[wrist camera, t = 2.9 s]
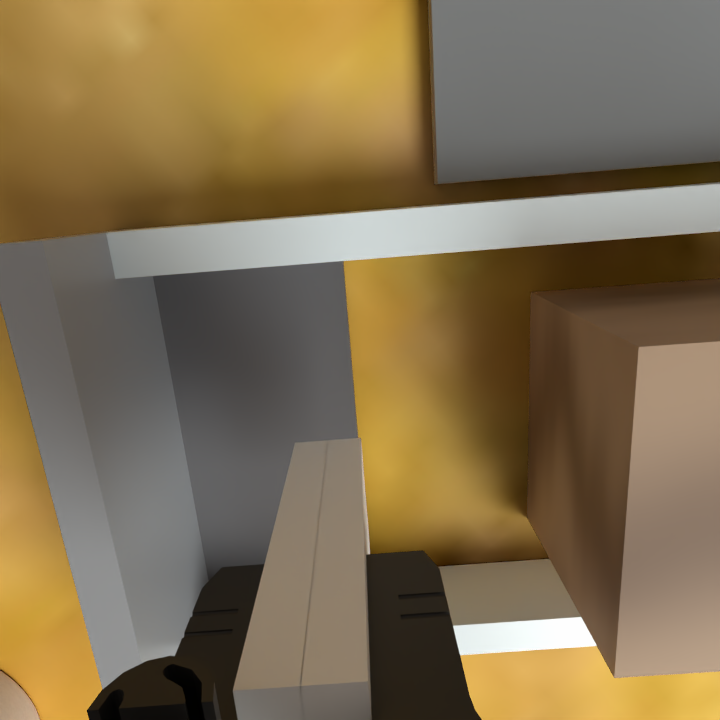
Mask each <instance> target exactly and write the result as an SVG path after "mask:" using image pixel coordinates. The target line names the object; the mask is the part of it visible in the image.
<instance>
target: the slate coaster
mask: <svg viewBox="0 0 720 720" xmlns="http://www.w3.org/2000/svg"><path fill="white" fill-rule="evenodd" d="M428 24H429V52H430V79H431V106H432V133H433V161H434V185H435V184H448V183H460V182H472V181H485V180H497V179H510V178H522V177H535V176H547V175H560V174H572V173H584V172H597V171H609V170H622V169H634V168H647V167H659V166H671V165H684V164H696V163H709V162H720V0H428Z"/></svg>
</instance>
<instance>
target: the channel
mask: <svg viewBox="0 0 720 720" xmlns="http://www.w3.org/2000/svg"><path fill="white" fill-rule="evenodd" d="M718 231H720V182H714V183H701V184H689V185H676V186H664V187H651V188H639V189H626V190H614V191H601V192H589V193H576V194H564V195H551V196H539V197H526V198H513V199H501V200H488V201H476V202H463V203H451V204H438V205H426V206H413V207H401V208H388V209H376V210H363V211H351V212H338V213H326V214H313V215H301V216H288V217H276V218H263V219H250V220H238V221H225V222H213V223H200V224H188V225H175V226H163V227H150V228H138V229H125V230H113V231H103V232H95V233H86V234H78V235H69V236H60V237H52V238H43V239H34V240H26V241H17V242H9V243H0V304H1V308H2V311H3V315H4V319H5V323H6V326H7V330H8V334H9V338H10V342H11V345H12V349H13V353H14V357H15V360H16V364H17V368H18V372H19V375H20V379H21V383H22V387H23V391H24V394H25V398H26V402H27V406H28V409H29V413H30V417H31V421H32V424H33V428H34V432H35V436H36V440H37V443H38V447H39V451H40V455H41V458H42V462H43V466H44V470H45V473H46V477H47V481H48V485H49V489H50V492H51V496H52V500H53V504H54V507H55V511H56V515H57V519H58V522H59V526H60V530H61V534H62V538H63V541H64V545H65V549H66V553H67V556H68V560H69V564H70V568H71V571H72V575H73V579H74V583H75V587H76V590H77V594H78V598H79V602H80V605H81V609H82V613H83V617H84V621H85V624H86V628H87V632H88V636H89V639H90V643H91V647H92V651H93V654H94V658H95V662H96V666H97V670H98V673H99V677H100V681H101V685H102V688H103V689H104V688H105V687H106V686H107V685H109V684H110V683H111V682H112V681H114V680H115V679H116V678H117V677H118V676H120V675H121V674H122V673H123V672H125V671H127V670H129V669H131V668H133V667H135V666H137V665H139V664H141V663H143V662H146V661H148V660H153V659H157V658H162V657H166V656H175V654H176V652H177V649H178V647H179V644H180V642H181V639H182V638H184V632H185V629H186V627H187V624H188V622H189V619H190V617H192V614H193V613H192V612H193V609H194V607H195V604H196V602H197V599H198V597H199V594H200V592H201V589H202V588H203V587H204V585H205V584H206V583H207V582H208V581H209V580H210V579H211V578H212V577H213V576H214V575H215V574H216V573H217V572H218V571H219V570H220V569H221V568H222V567H231V566H245V565H259V564H265V560H266V556H267V553H268V549H269V545H270V541H271V537H272V533H273V529H274V525H275V521H276V517H277V513H278V509H279V505H280V501H281V497H282V493H283V489H284V485H285V481H286V477H287V473H288V469H289V465H290V461H291V457H292V453H293V449H294V445H295V443H298V442H312V441H325V440H338V439H352V438H358V431H357V419H356V407H355V395H354V383H353V371H352V360H351V348H350V336H349V324H348V312H347V301H346V289H345V277H344V265H343V261H349V260H362V259H375V258H387V257H400V256H413V255H426V254H438V253H451V252H464V251H477V250H489V249H502V248H515V247H527V246H540V245H553V244H566V243H578V242H591V241H604V240H617V239H629V238H642V237H655V236H667V235H680V234H693V233H706V232H718ZM438 568H439V569H440V573H441V577H442V581H443V586H444V590H445V596H446V598H447V603H448V607H449V611H450V616H451V620H452V624H453V628H454V632H455V636H456V641H457V645H458V649H459V653H460V655H469V654H483V653H498V652H513V651H527V650H542V649H557V648H572V647H586V646H597V645H596V643H595V641H594V640H593V638H592V636H591V634H590V632H589V630H588V629H587V627H586V625H585V623H584V621H583V619H582V618H581V616H580V614H579V612H578V610H577V608H576V607H575V605H574V603H573V601H572V599H571V597H570V595H569V594H568V592H567V590H566V588H565V586H564V584H563V583H562V581H561V579H560V577H559V575H558V573H557V572H556V570H555V568H554V566H553V564H552V562H551V561H550V559H539V560H525V561H511V562H497V563H482V564H468V565H454V566H440V567H438Z"/></svg>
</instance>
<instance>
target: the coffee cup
mask: <svg viewBox="0 0 720 720" xmlns="http://www.w3.org/2000/svg"><path fill="white" fill-rule="evenodd" d="M0 720H40V718H39V715H38V713H37V711H36V708H35V706H34V705H33V703H32V701H31V700H30V698H29V697H28V696H27V694H26V693H25V692H24V691H23V689H22V688H21V687H20V686H19V685H18V684H17V683H16V682H14V681H13V680H12V679H11V678H10V677H8V676H7V675H6V674H4V673H3V672H2V671H0Z"/></svg>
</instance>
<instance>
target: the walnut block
mask: <svg viewBox="0 0 720 720" xmlns="http://www.w3.org/2000/svg"><path fill="white" fill-rule="evenodd" d="M527 518H528V520H529V522H530V524H531V526H532V527H533V529H534V531H535V533H536V535H537V537H538V538H539V540H540V542H541V544H542V546H543V548H544V549H545V551H546V553H547V555H548V557H549V559H550V561H551V562H552V564H553V566H554V568H555V570H556V572H557V573H558V575H559V577H560V579H561V581H562V583H563V584H564V586H565V588H566V590H567V592H568V594H569V595H570V597H571V599H572V601H573V603H574V605H575V607H576V608H577V610H578V612H579V614H580V616H581V618H582V619H583V621H584V623H585V625H586V627H587V629H588V630H589V632H590V634H591V636H592V638H593V640H594V641H595V643H596V645H597V647H598V649H599V651H600V653H601V654H602V656H603V658H604V660H605V662H606V664H607V665H608V667H609V669H610V671H611V673H612V675H613V676H614V678H621V677H637V676H653V675H669V674H685V673H701V672H717V671H720V278H716V279H702V280H688V281H674V282H661V283H647V284H633V285H619V286H605V287H592V288H578V289H564V290H550V291H536V292H531V303H530V364H529V425H528V486H527Z"/></svg>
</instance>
